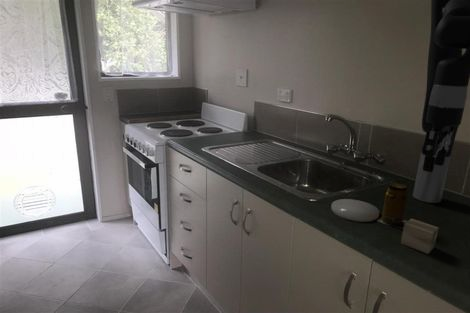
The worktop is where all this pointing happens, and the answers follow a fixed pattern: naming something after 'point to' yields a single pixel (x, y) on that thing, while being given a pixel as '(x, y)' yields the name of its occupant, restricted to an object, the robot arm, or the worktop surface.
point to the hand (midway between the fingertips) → (433, 168)
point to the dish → (355, 210)
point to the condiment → (394, 206)
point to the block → (419, 235)
